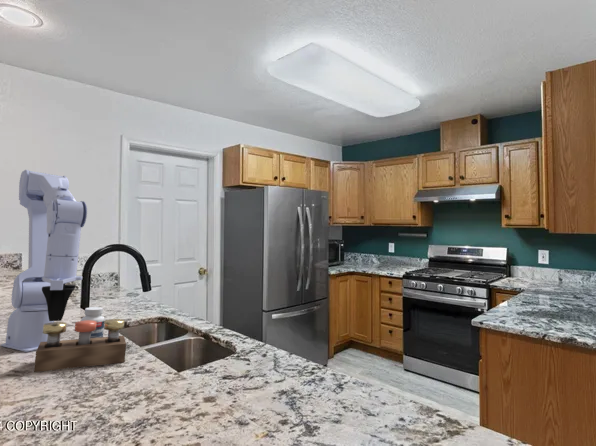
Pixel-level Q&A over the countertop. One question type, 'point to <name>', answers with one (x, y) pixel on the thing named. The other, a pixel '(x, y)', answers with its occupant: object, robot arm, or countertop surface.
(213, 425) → the countertop surface
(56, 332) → the left brass button
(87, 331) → the red knob
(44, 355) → the block
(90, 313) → the pill bottle
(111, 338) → the right brass button
